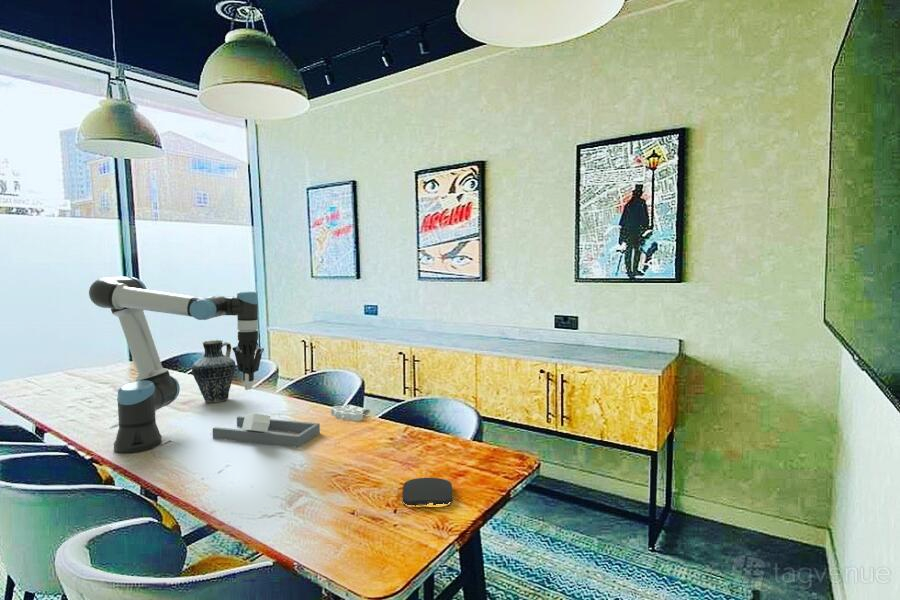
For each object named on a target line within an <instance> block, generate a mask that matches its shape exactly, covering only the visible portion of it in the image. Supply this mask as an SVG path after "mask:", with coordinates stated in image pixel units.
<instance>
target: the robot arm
mask: <svg viewBox="0 0 900 600" xmlns="http://www.w3.org/2000/svg"><path fill="white" fill-rule="evenodd" d="M257 293H258V292H255V291H238V292H237V294H236V296H225V295H224V296H222V295H221V296H220V295H214V296H208V297H201V296H199V297H198V296H192V295H185V294H179V293H178V294H177V293H171V292H164V291H159V290H158V291H157V290H149V289H147V287H146V285H145V283H143V281H142V280H141V279H139V278H136V277H134V276H133V277H132V276H126V275H125V276H124V275H123V276H110V277H109V276H107V277H101V278H98V279H97V280H95V281H94V282H93V283H92V284H91V285H90V287H89V290H88V295H89V296H88V297H89V298H90V301H91V302H92V303H93V304H94V305H95V306H97V307H99V308H104V309H110V311H111V313H112V316H115V317H118V320H119V323H120V326H121V328H122V331H123V333H124V337H125V341H126V343H127V346H128V348H129V351H130V355H131V357H132V360H133V364H134V365H135V369H136V371H137V377H136V379H135V381H133V382H127V383H126V384H124V385H121V386H120V387H119V388H118V390H117V396H116V397H117V398H116V400H117V412H118V417H117V418H118V429H117V433H116V437H115V440H114V442H113V450H114V452H116V453H121V454H129V453H130V454H131V453H140V452H145V451H147V450H148V451H149V450H151V449H155V448H157V447H158V446H160V445H161V444H162V443H163V440H162V434H161V433H160V430H159V428H158V425H157V422H156V421H157V420H156V411H158V410H160V409H162V408H163V407H164V408H165V407H168V405H170V404H171V403H173V402H174V401H175V400H176V399H177V398H178V396H179V394H180V383H179V382H178V379H176V377H173V376H172V375H170V372H169V370H168V369H167V368H164V367H163V365H162V362H161V358H160V356H159V353H158V351H157V348H156V347H157V346H156V344H155V340H154V338H153V335H152V333H151V330H150V326H149V324H148V321H147V318H146V315H145V311H150V312H155V313H165V314H170V315H176V316H185V317H190V318H191V317H192V318H194V319H195V320H197V321H203V320H204V321H206V320H210V319H214V318H218V317H221V316H237V317H236V318H237V330H238V331H237V341H238V343H237V345H236V346H234V347H231V350H232V351H233V353H234V356H235V360H236V361H235V362H236V365H237V369H238V370H237V371H239V372H241V373H243V374H242V377H243V381H244V390H245V391H246V390H247V391H249V390H252V389H253V382H254V380H255V373H257V372H258V371H259V369H260V365H261V359H262V355H263V353H264V351H265V348H264V347H263V348H262V347H261V346H259V343H258V340H259V331H258V329H259V302H258V294H257Z"/></svg>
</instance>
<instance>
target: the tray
mask: <svg viewBox="0 0 900 600" xmlns="http://www.w3.org/2000/svg"><path fill="white" fill-rule="evenodd" d="M244 417H245V416H243V415H242V416H241V415H239V416H237V417H236V427H237V426H240V428H242V426H243V422H244ZM320 426H321V424H320V423H318V422H307V421H296V420H288V419H287V420H285V419H284V420H283V419H273V418H270V424H269V427H268V430H267V432H260V431H250V430H242V429H237V428H229V427H218V426H214V427H212V439H215V440H216V439H218V440H225V439H226V440H225V441H235V440H236V442H247V443H256V444H264V445H274V446H282V445H284V447H291V446H296V447H295V448H300V447H301V446H303V445H305V444H306V443H307V442H309V441H310V440H312V439H313V438H315V437H317V436H318V435H319V434H321V433H320V431H321V430H320V428H321V427H320ZM269 430H270V431H279V432H269ZM280 431H281V432H288V431H290V432H289V434H288V433H280ZM298 432H301V433H298ZM291 433H298V434H291ZM317 434H318V435H317ZM314 436H315V437H314ZM308 440H309V441H308ZM302 444H303V445H302ZM299 446H300V447H299Z"/></svg>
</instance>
